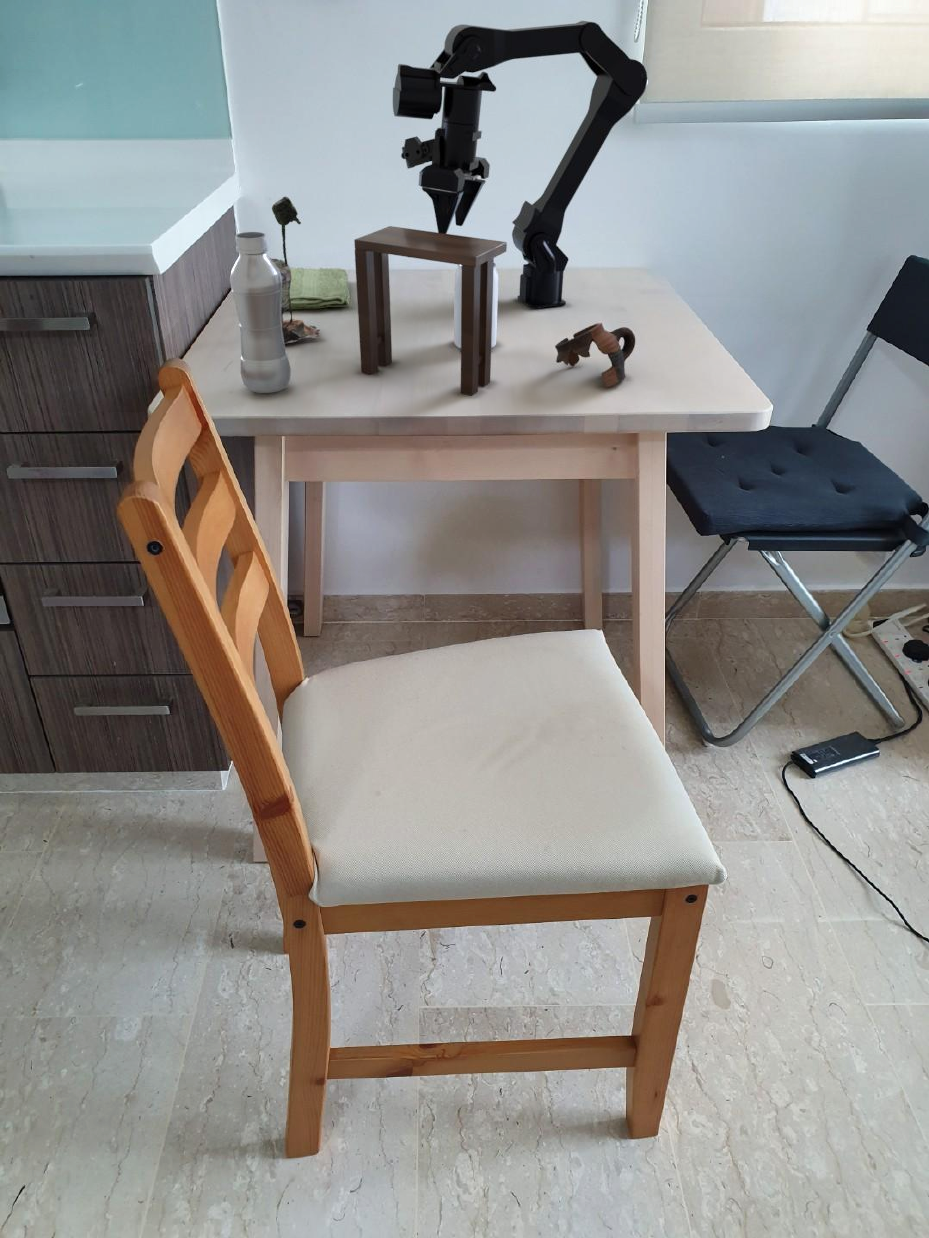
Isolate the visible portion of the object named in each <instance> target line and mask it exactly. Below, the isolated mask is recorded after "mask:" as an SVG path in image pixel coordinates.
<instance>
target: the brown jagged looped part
mask: <svg viewBox="0 0 929 1238" xmlns="http://www.w3.org/2000/svg"><path fill="white" fill-rule="evenodd" d="M603 325H604V324H603V323H602V322H596V323H594V324H592V325H590V326H589V325H588V327H585V328H583V329H581V330H579V331H577V332H575V333H573V335H572V336H573V338H570V339H569V338H568V337H565V338H563V339H562V340H560V341H559V342H558V343H557V344H555V346H554V348H555V349H556V351H557V356H556V359H555V362H556V363H562V362H563V364H565V366H568V365H569V366H571V367H575V366H576V365H577V364H578V363H579V361H580V357H582V358H590V357H591V354H590V349H591V345H592V343H594V344H595V346H596V347H597V350H598V351H599V352H600V353H601V354H603V355H607V357H608V359H609V361H610V362H611V366H610V368H608V369H607V370H604V371H602V373H601V377H602V379H603V381H604V387H605V388H606V389H608V388H610V387H613V386H614V385H616V384H617V383H620V382H621V381H624V379H625V378H626V369H625V362H626V360H627V359H628V358H629V357H630V356H631V355H632V354H633V352H634V349H635V346H636V336H635V333H634V331H633V330H632V329H630V328H629V327H627V326H624V327H623V326H622V327H619V328H616V329H614V330H613V331H608V330H605V327H604V326H603ZM621 339H623V345H622V346H621V344H620V340H621Z"/></svg>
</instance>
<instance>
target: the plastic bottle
mask: <svg viewBox="0 0 929 1238" xmlns="http://www.w3.org/2000/svg"><path fill="white" fill-rule="evenodd" d="M234 238H235V244H236V246H235V250H236V252H237V253H238V255H239V256H238V257H237V259H236V260H235V263H234V264H233V267H232V268H231V272H230V277H229V283H230V289H231V292H232V296H233V300H234V304H235V308H236V311H237V318H238V322H239V330H240V350H241V356H240V370H239V371H240V377H241V380H242V383H243V385H244V386H245V387H246V389H248V390H249V391H250V392H254V393H260V394H270V393H271V394H272V393H277V392H281V391H283V390H285V389H286V388H287V387H288V385H289V383H290V382H291V376H292V375H291V373H292V368H291V365H290V364H291V363H290V360H289V356H288V354H287V349H286V343H284V338H283V332H282V322H281V320H282V315H281V302H282V276H281V273H280V271H279V269H278V268H277V266H276V265H275V264H274V262H273V261H272V260H271V259H272V258H271V257H269V255H268V254H267V252H268V251H269V245H268V244H267V236H266V233H264V232H261V231H246V232H245V231H244V232H239V233H237V234H235V237H234ZM270 258H271V259H270Z"/></svg>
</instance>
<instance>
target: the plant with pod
mask: <svg viewBox="0 0 929 1238" xmlns="http://www.w3.org/2000/svg"><path fill="white" fill-rule="evenodd" d="M271 206H272V207H271V210H272V213H273V215H274V217H275V220H276V222H277V224H278V225H279V226H281V236H282V254H283V258H284V260H282V259H279V258H271V257H269V258H270V259H271V260H272V261H273V262H274V264H275V265H276V266H277V268H278V269H279V271H280V273H281V276H282V302H281V315H282V320H281V322H282V332H283V338H284V343H285V344H289V343H295V342H298V341H300V340H301V339H302V340H303V339H304V340H305V339H307V338H313V339H318V338H319V337H320V333H319V332H320V329H318V328H317V327H316V326H315V325H310V326H309V325H306V324H305V323H304V321H303V319H300V318H293V309H291V301H290V293H289V292H290V284H291V279H292V275H291V270H290V268H289V267H290V266H289V263H288V259H287V248H286V226H287V225H289V224H290V223H293V222H296V223H297V224H298V225H301V224H302V222H301V221H300V219H299V218H298V214H299V213H298V211H297V209H296V207H295V206H294V204H293V203H292V201H291V199H290V198H289V197H287V196H283V197H282V198H281V199H278V200H277V201H275V202H274V203H273V205H271ZM288 308H289V309H290V310H289V309H288ZM288 310H289V313H290V319H286V320H284V317H283V316H284V313H285V312H286V311H288Z"/></svg>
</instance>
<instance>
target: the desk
mask: <svg viewBox="0 0 929 1238" xmlns="http://www.w3.org/2000/svg"><path fill="white" fill-rule="evenodd" d="M507 248H508V242H506V241H501V240H494V239H487V238H479V237H472V236H465V235H459V234H450V233H446V234H444V233H438V231H437V232H435V231H428V230H421V229H415V228H406V227H400V226H393V225H389V226H387V227H384V228H381V229H379V230H376V231H373V232H371V233H368V234H366V235H365V234H364V235H362V236H360V237H358V238H355V239H354V261H355V262H354V263H355V279H356V281H355V283H356V299H357V314H358V315H357V316H358V317H357V318H358V334H359V335H358V336H359V337H358V338H359V354H360V355H359V356H360V370H361V371H360V372H361V374H366V375H371V376H372V375H375V374H376V373H378V372H379V366H382V367H387V366H389V365H391V364H393V349H392V348H393V347H392V345H393V344H392V319H391V317H392V316H391V290H390V289H391V287H390V263H389V261H390V259H389V255H393V256H398V257H405V258H411V259H412V258H413V259H419V260H426V261H432V262H439V263H445V264H452V265H457V264H458V265H462V294H461V349H460V394H463V395H468V396H471V397H472V396H474V395H475V394H477V393H478V392H479V386H480V387H487V385H489V384H490V383H491V373H492V372H491V371H492V370H491V368H492V367H491V366H492V349H491V337H492V302H493V267H494V263H495V262H494V261H495V260H494V259H495V258H496V257H498V256H500V255H502V254H504V253H506V252H507V250H508V249H507ZM458 265H457V266H458Z"/></svg>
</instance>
